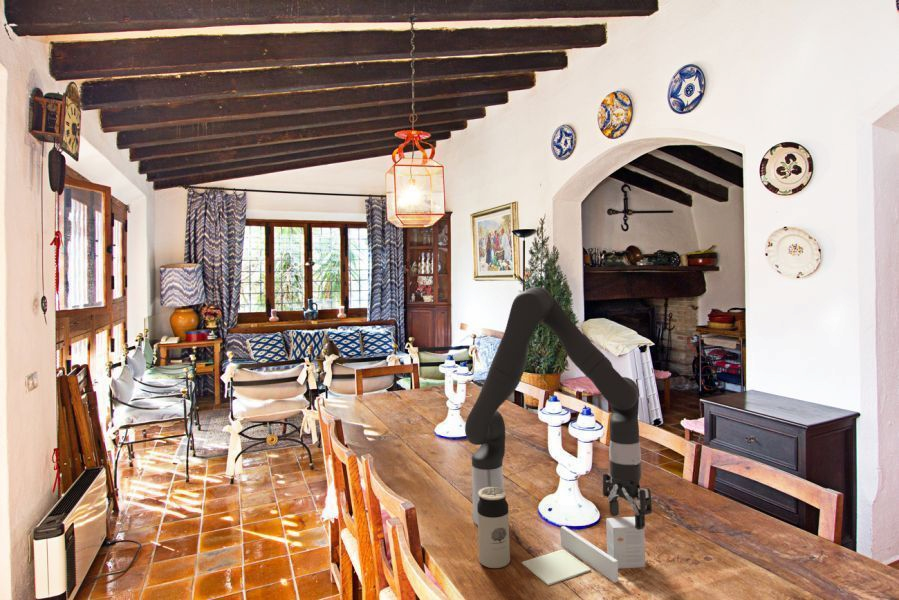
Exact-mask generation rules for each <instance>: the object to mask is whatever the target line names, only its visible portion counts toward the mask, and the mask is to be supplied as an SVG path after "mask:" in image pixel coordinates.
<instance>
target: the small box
mask: <svg viewBox="0 0 899 600" xmlns="http://www.w3.org/2000/svg"><path fill="white" fill-rule="evenodd" d="M605 522H606V523H605V527H606V553H607V554H608V555H610V556H611V557H613V558H614V559H616V560H618V570H619V569H635V568H637V569H638V568H646V542H645V541H646V540H645V537H646V536H645V532H646V531H645V527H644V528H643V529H640V530H638V529H636V528H635V516H623V517H607V518H606V520H605Z"/></svg>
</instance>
